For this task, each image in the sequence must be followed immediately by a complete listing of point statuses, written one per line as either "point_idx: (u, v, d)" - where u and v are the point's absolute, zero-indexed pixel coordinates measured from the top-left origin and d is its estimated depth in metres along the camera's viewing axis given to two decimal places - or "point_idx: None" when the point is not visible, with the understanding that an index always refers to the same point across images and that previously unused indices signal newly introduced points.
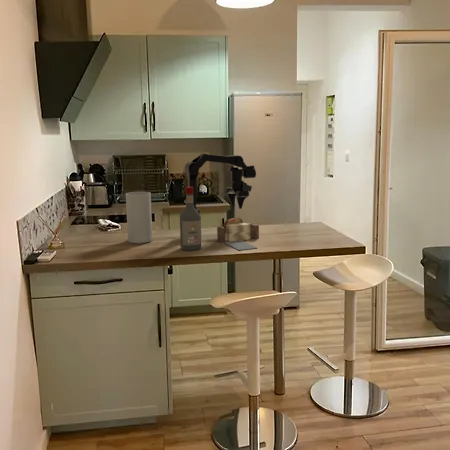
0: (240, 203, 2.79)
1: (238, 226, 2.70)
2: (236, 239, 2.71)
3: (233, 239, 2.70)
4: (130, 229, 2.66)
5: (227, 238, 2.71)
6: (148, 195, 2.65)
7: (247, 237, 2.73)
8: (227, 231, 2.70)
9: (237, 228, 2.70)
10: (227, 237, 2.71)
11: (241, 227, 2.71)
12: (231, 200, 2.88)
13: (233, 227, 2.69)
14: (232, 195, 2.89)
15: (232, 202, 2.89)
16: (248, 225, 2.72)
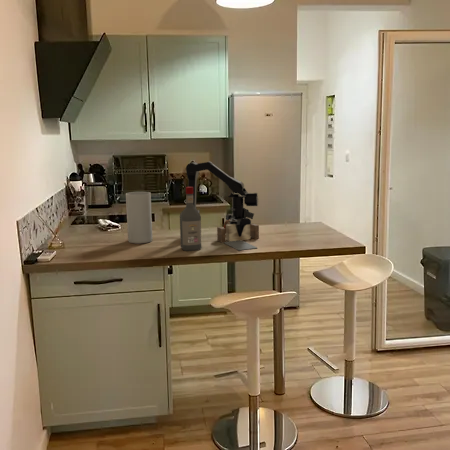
0: (239, 231, 2.69)
1: None
2: (236, 239, 2.71)
3: (233, 239, 2.70)
4: (130, 229, 2.66)
5: (227, 238, 2.71)
6: (148, 195, 2.65)
7: (247, 237, 2.73)
8: (227, 231, 2.70)
9: None
10: (227, 237, 2.71)
11: None
12: None
13: (233, 227, 2.69)
14: (235, 223, 2.74)
15: None
16: (248, 225, 2.72)
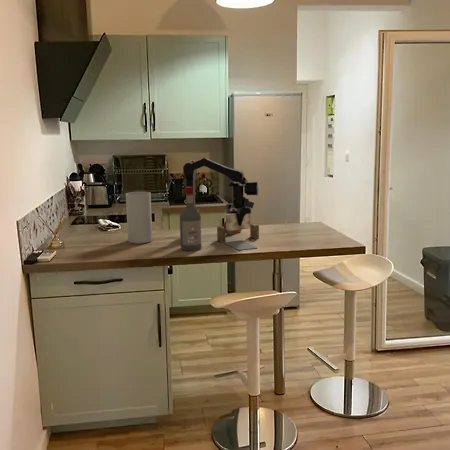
0: (240, 220, 2.68)
1: None
2: (236, 228, 2.70)
3: (233, 228, 2.69)
4: (130, 229, 2.66)
5: (227, 227, 2.70)
6: (148, 195, 2.65)
7: (247, 226, 2.72)
8: (227, 220, 2.69)
9: None
10: (227, 226, 2.70)
11: None
12: None
13: (233, 216, 2.68)
14: (235, 212, 2.73)
15: None
16: (248, 214, 2.71)
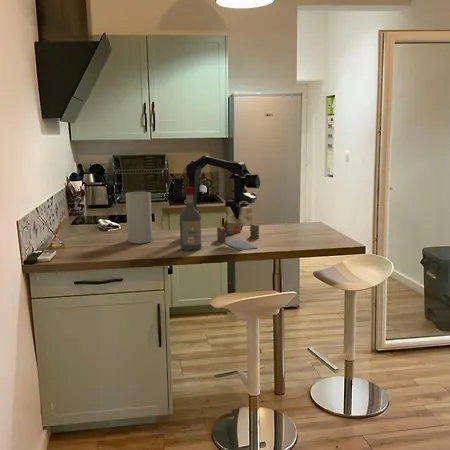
0: (235, 213, 2.60)
1: None
2: (234, 221, 2.63)
3: (231, 221, 2.64)
4: (130, 229, 2.66)
5: None
6: (148, 195, 2.65)
7: (245, 221, 2.60)
8: None
9: None
10: None
11: None
12: None
13: None
14: (241, 206, 2.64)
15: None
16: (246, 209, 2.58)
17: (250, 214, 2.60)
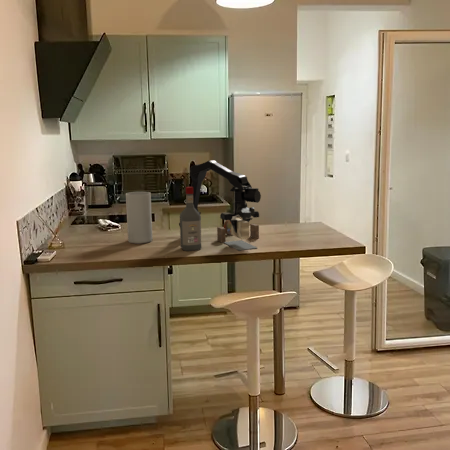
0: (233, 226, 2.57)
1: None
2: (234, 234, 2.60)
3: (233, 233, 2.61)
4: (130, 229, 2.66)
5: None
6: (148, 195, 2.65)
7: (240, 236, 2.54)
8: None
9: None
10: None
11: None
12: None
13: None
14: (244, 219, 2.58)
15: None
16: (240, 223, 2.52)
17: (246, 229, 2.53)
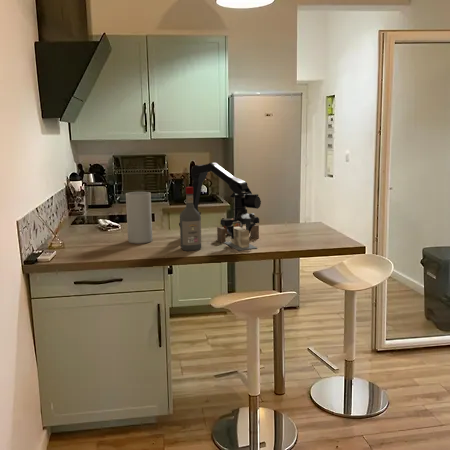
0: (230, 232, 2.57)
1: (235, 230, 2.58)
2: (234, 243, 2.60)
3: (233, 242, 2.62)
4: (130, 229, 2.66)
5: None
6: (148, 195, 2.65)
7: (240, 244, 2.55)
8: None
9: (235, 232, 2.59)
10: None
11: (237, 231, 2.57)
12: None
13: (233, 229, 2.61)
14: (247, 225, 2.60)
15: None
16: (240, 232, 2.53)
17: (246, 238, 2.53)
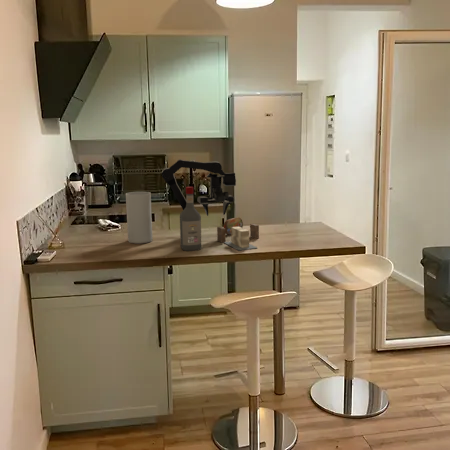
0: (205, 210, 2.75)
1: (235, 230, 2.58)
2: (234, 243, 2.60)
3: (233, 242, 2.62)
4: (130, 229, 2.66)
5: None
6: (148, 195, 2.65)
7: (240, 244, 2.55)
8: None
9: (235, 232, 2.59)
10: None
11: (237, 231, 2.57)
12: (223, 208, 2.79)
13: (233, 229, 2.61)
14: (224, 203, 2.78)
15: (223, 210, 2.78)
16: (240, 232, 2.53)
17: (246, 238, 2.53)
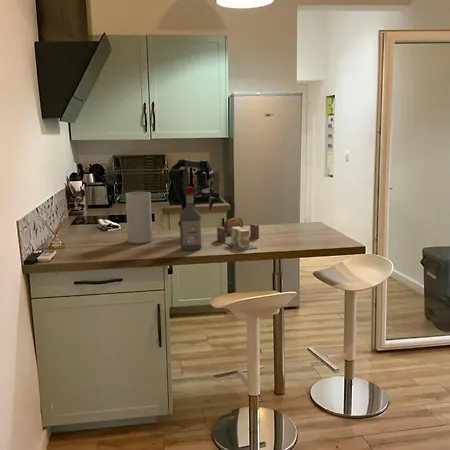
0: None
1: (235, 230, 2.58)
2: (234, 243, 2.60)
3: (233, 242, 2.62)
4: (130, 229, 2.66)
5: None
6: (148, 195, 2.65)
7: (240, 244, 2.55)
8: None
9: (235, 232, 2.59)
10: None
11: (237, 231, 2.57)
12: (209, 204, 2.92)
13: (233, 229, 2.61)
14: (210, 199, 2.90)
15: (209, 206, 2.91)
16: (240, 232, 2.53)
17: (246, 238, 2.53)
